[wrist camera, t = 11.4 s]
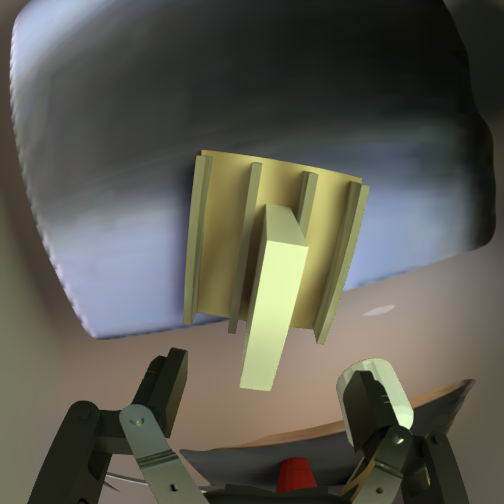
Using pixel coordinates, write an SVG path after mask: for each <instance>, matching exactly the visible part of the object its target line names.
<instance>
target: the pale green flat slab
mask: <svg viewBox="0 0 504 504" xmlns="http://www.w3.org/2000/svg"><path fill="white" fill-rule="evenodd" d="M308 248H309V247H308V244H307V242H306V240H305V238H304V236H303V233H302V231H301V229H300V227H299V225H298V223H297V221H296V218H295V216H294V214H293V212H292V210H291V208H290V207H285V206H279V205H273V204H267V203H266V207H265V213H264V219H263V225H262V231H261V237H260V243H259V249H258V255H257V261H256V266H255V272H254V278H253V284H252V290H251V296H250V301H249V307H248V316H247V325H246V334H245V343H244V353H243V361H242V370H241V379H240V387H241V388H248V389H257V390H265V391H270V390H271V387H272V383H273V380H274V377H275V373H276V370H277V367H278V363H279V360H280V357H281V353H282V350H283V346H284V343H285V339H286V335H287V332H288V328H289V325H290V321H291V317H292V313H293V310H294V306H295V302H296V298H297V294H298V290H299V286H300V282H301V278H302V274H303V270H304V265H305V261H306V257H307V253H308Z"/></svg>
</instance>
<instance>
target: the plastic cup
mask: <svg viewBox="0 0 504 504" xmlns="http://www.w3.org/2000/svg"><path fill="white" fill-rule="evenodd" d="M308 487H317V485H316V482H315V479H314V476H313V473H312V472H311V468H310V465H309V463H308V461H307V460H306V459H304V458H291V459H287V460H285V461H283V462H282V465H281V469H280V474H279V477H278V483H277V488H276V493H283V492H288V491H292V490H296V489H301V488H308Z"/></svg>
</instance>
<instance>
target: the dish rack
mask: <svg viewBox="0 0 504 504" xmlns="http://www.w3.org/2000/svg"><path fill="white" fill-rule="evenodd" d="M361 181H362V178H358V177H354V176H350V175H346V174H342V173H338V172H333V171H329V170H324V169H320V168H315V167H310V166H305V165H300V164H295V163H290V162H284V161H278V160H273V159H267V158H260V157H254V156H247V155H240V154H232V153H225V152H216V151H207V150H202V153H201V156H197V157H196V164H195V172H194V181H193V190H192V199H191V208H190V219H189V230H188V242H187V256H186V271H185V290H184V315H183V324H184V325H189V326H191V323H192V321H193V319H194V316H195V314H196V312H198V313H203V314H209V315H214V316H220V317H226V318H230V321H229V328H228V333H233V334H235V333H236V328H237V321H238V320H245V321H247V316H248V307H249V301H250V296H251V290H252V284H253V278H254V272H255V266H256V261H257V255H258V249H259V243H260V237H261V231H262V225H263V219H264V213H265V207H266V203H267V204H273V205H279V206H285V207H290V208H291V210H292V212H293V214H294V216H295V218H296V221H297V223H298V225H299V227H300V229H301V231H302V233H303V236H304V238H305V240H306V242H307V244H308V247H309V248H308V253H307V257H306V261H305V265H304V270H303V274H302V278H301V282H300V286H299V290H298V294H297V298H296V302H295V306H294V310H293V313H292V317H291V321H290V325H289V327H296V328H306V329H313V330H314V334H315V338H316V342H317V344H321V345H324V343H325V340H326V338H327V335H328V332H329V329H330V327H331V324H332V321H333V318H334V315H335V312H336V309H337V306H338V303H339V300H340V297H341V294H342V291H343V288H344V285H345V281H346V278H347V275H348V271H349V268H350V264H351V261H352V257H353V254H354V250H355V247H356V243H357V239H358V235H359V231H360V227H361V223H362V219H363V215H364V211H365V206H366V202H367V198H368V193H369V188H370V186H367V185H364V184H361Z"/></svg>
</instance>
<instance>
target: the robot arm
mask: <svg viewBox="0 0 504 504" xmlns="http://www.w3.org/2000/svg"><path fill="white" fill-rule="evenodd" d="M187 362H188V351H186V350H182V349H177V348H171V349H170V351H169V354H168V356H167V357H163V356H158V357H156V358H155V359H154V360H153V361H151V363H150V365H149V367H148V369H147V372H146V374H145V376H144V379H143V380H142V382H141V384H140V386H139V389H138V391H137V393H136V395H135V397H134V399H133V402H132V403H131V404H130V405H128V406H126V407H125V408H123V409H122V410H119V411H108V410H99V409H98V407H97V406H96V405H95V404H93V403H92V402H89V401H78V402H75V403H74V404H72V405H71V407H70V408H69V410H68V412H67V414H66V416H65V418H64V420H63V422H62V424H61V426H60V428H59V430H58V433H57V434H56V436H55V438H54V441H53V443H52V445H51V447H50V449H49V452H48V454H47V456H46V458H45V461H44V463H43V465H42V468H41V470H40V472H39V475H38V477H37V480H36V482H35V485H34V487H33V490H32V493H31V495H30V498H29V501H28V503H27V504H98V500H99V497H100V493H101V490H102V486H103V483H104V480H105V476H106V473H107V470H108V466H109V463H110V460H111V457H112V454H126V455H127V454H128V455H134V457H135V459H136V461H137V464H138V466H139V468H140V470H141V472H142V474H143V476H144V478H145V480H146V482H147V484H148V486H149V487H150V489H151V491H152V493H153V495H154V497H155V499H156V500H157V502H158V504H391V503H392V501H393V499H394V497H395V495H396V493H397V491H398V488H399V486H400V485H401V490H402V495H403V500H404V504H469V500H468V497H467V493H466V490H465V487H464V483H463V481H462V477H461V474H460V471H459V468H458V465H457V462H456V460H455V457H454V454H453V451H452V448H451V446H450V443H449V441H448V438H447V437H446V435H445V434H444V433H442V432H440V431H432V432H430V433H429V434H428V435H427V436H426V437H423V436H416V435H412V434H411V432H410V431H409V430H408V429H407V428H406V427H404V426H401V425H399V422H398V419H397V417H396V414H395V412H394V409H393V407H392V404H391V403H390V399H389V397H388V394H387V392H386V390H385V387H384V386H383V385H382V384H381V383H380V382H379V381H378V380H375V379H374V376H373V374H372V372H371V371H370V370H356V371H355V372H354V373H353V375H352V377H351V379H350V381H349V383H348V385H347V386H346V388H345V390H344V393H343V404H344V408H345V412H346V416H347V420H348V424H349V428H350V432H351V436H352V441H353V445H354V449H355V453H362V452H364V457H363V458H362V460H361V461H360V463H359V465H358V467H357V468H356V470H355V472H354V473H353V475H352V476H351V478H350V480H349V481H348V483H347V484H346V485H345V487H344V488H343V489H342V490H341V491H340V492H339V493H338V494H335V493H332V492H328V487H327V486H326V487H308V488H301V489H296V490H292V491H288V492H283V493H275V492H271V491H267V490H263V489H259V488H256V487H252V486H240V485H231V484H226V486H225V489H217V490H212V491H209V492H206V493H203V494H202V492H201V491H200V489H199V488H198V486H197V485H196V483H195V482H194V480H193V479H192V478H191V476H190V474H189V473H188V471H187V470H186V468H185V467H184V465H183V463H182V462H181V460H180V458H179V457H178V455H177V454H176V453H174V452H173V451H172V449H171V448H170V446H169V444H168V442H167V441H166V439H165V438H170V435H171V431H172V427H173V424H174V421H175V417H176V414H177V411H178V407H179V404H180V401H181V398H182V394H183V391H184V388H185V384H186V380H187V365H188V364H187ZM426 467H427V470H428V474H429V477H430V485H429V482H428V478H427V475H426V471H425V468H426Z"/></svg>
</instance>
